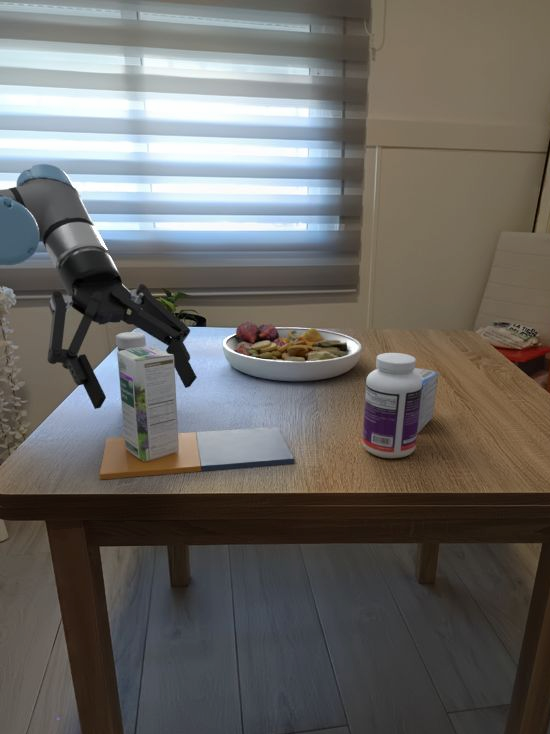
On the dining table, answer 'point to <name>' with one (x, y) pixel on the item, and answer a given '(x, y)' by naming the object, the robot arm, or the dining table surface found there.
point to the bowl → (290, 352)
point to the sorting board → (201, 453)
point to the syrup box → (148, 402)
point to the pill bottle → (392, 406)
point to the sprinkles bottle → (130, 340)
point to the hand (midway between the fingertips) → (148, 392)
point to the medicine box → (426, 396)
